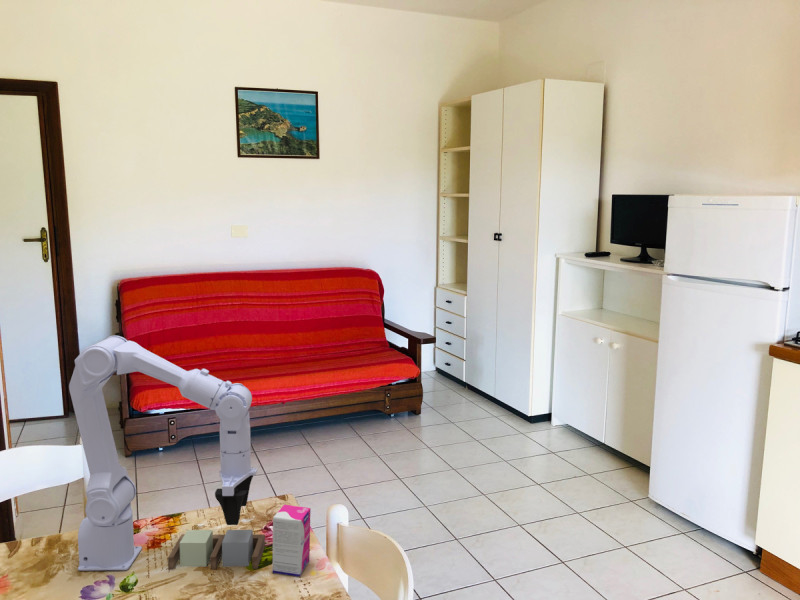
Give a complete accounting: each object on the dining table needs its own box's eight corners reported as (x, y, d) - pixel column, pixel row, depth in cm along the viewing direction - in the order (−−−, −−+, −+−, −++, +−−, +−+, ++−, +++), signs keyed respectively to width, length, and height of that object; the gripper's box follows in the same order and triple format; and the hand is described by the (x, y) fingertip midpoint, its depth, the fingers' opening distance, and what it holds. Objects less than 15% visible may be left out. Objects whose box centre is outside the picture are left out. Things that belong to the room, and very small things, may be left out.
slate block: (222, 566, 125) (222, 542, 124) (228, 553, 130) (227, 529, 129) (248, 566, 125) (248, 542, 124) (253, 552, 130) (252, 529, 129)
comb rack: (168, 569, 123) (167, 557, 123) (181, 546, 132) (181, 534, 131) (257, 568, 124) (257, 556, 124) (264, 545, 133) (264, 534, 132)
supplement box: (300, 577, 122) (300, 520, 120) (271, 573, 123) (270, 517, 121) (311, 561, 127) (311, 506, 125) (283, 557, 128) (282, 503, 127)
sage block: (180, 566, 125) (179, 542, 124) (188, 553, 129) (187, 529, 129) (206, 567, 125) (205, 542, 124) (213, 553, 130) (212, 530, 129)
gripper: (249, 463, 117) (250, 533, 119) (262, 435, 131) (263, 497, 133) (209, 463, 117) (211, 533, 119) (227, 435, 131) (229, 497, 133)
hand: (236, 514), depth 126 cm, fingers open, 7 cm apart
